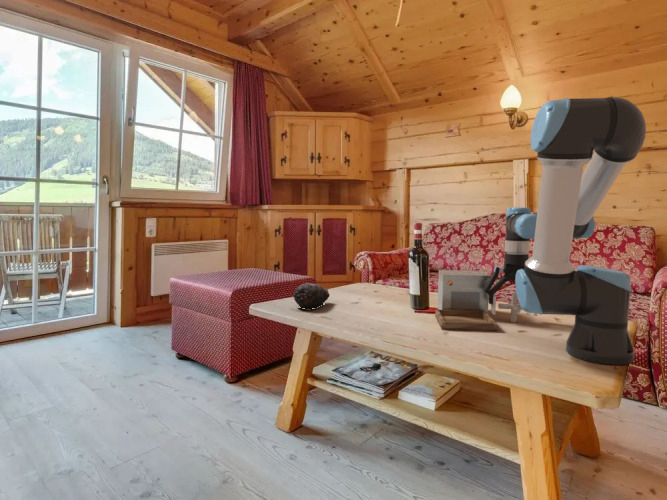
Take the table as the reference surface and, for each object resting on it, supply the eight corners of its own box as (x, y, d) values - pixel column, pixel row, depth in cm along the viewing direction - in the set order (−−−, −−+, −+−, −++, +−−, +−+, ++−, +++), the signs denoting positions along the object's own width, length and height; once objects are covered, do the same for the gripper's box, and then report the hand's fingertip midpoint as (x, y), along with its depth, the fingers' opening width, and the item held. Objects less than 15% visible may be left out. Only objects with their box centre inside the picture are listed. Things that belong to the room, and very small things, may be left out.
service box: (488, 317, 147) (489, 275, 145) (442, 316, 149) (443, 274, 147) (479, 308, 160) (481, 270, 158) (437, 307, 162) (438, 269, 160)
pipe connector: (533, 326, 136) (534, 296, 135) (501, 324, 138) (502, 294, 137) (525, 318, 146) (526, 290, 145) (495, 316, 148) (496, 289, 147)
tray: (496, 331, 130) (497, 323, 129) (441, 329, 132) (441, 321, 132) (484, 317, 147) (484, 310, 146) (435, 316, 149) (435, 309, 148)
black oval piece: (332, 303, 170) (332, 279, 169) (313, 312, 154) (313, 286, 153) (310, 300, 174) (310, 277, 173) (289, 310, 158) (288, 284, 157)
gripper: (551, 252, 142) (547, 312, 144) (476, 251, 145) (473, 310, 147) (560, 254, 134) (556, 318, 137) (481, 253, 138) (478, 315, 140)
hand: (513, 314), depth 142 cm, fingers open, 13 cm apart
